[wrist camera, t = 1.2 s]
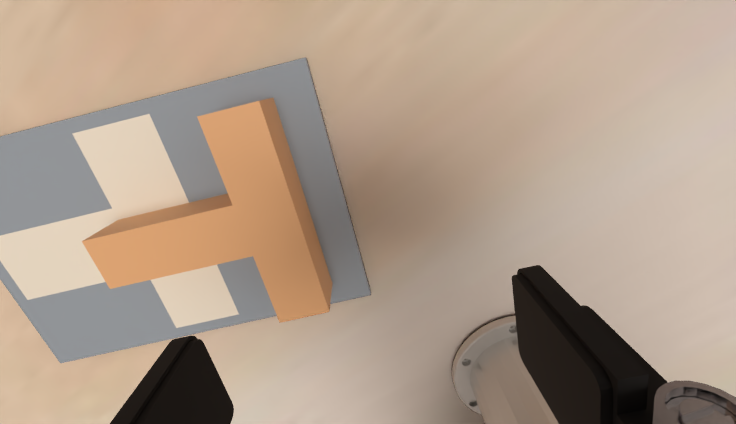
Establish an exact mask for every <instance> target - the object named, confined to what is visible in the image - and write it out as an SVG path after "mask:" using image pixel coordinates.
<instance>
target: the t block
mask: <svg viewBox="0 0 736 424" xmlns="http://www.w3.org/2000/svg"><path fill="white" fill-rule="evenodd" d="M197 118H198V120H199V123H200V125H201V128H202V130H203V133H204V135H205V138H206V140H207V143H208V145H209V148H210V150H211V153H212V155H213V158H214V160H215V163H216V165H217V168H218V170H219V173H220V175H221V178H222V180H223V183H224V185H225V188H226V190H227V194H223V195H219V196H215V197H211V198H206V199H202V200H198V201H194V202H190V203H186V204H181V205H177V206H173V207H169V208H165V209H161V210H157V211H152V212H148V213H144V214H140V215H136V216H132V217H128V218H123V219H119V220H117V221H115V222H114V223H112V224H110V225H109V226H107V227H105V228H103V229H102V230H100V231H98V232H97V233H95V234H93V235H92V236H90V237H88V238H87V239H85V240H83V241H82V243H83V244H84V246H85V248H86V249H87V251H88V253H89V255H90V256H91V258H92V260H93V261H94V263H95V265H96V266H97V268H98V270H99V271H100V273H101V275H102V277H103V278H104V280H105V282H106V283H107V285H108V287H109V288H110V289H113V288H117V287H121V286H126V285H130V284H134V283H139V282H143V281H147V280H152V279H156V278H160V277H165V276H169V275H174V274H178V273H182V272H187V271H191V270H195V269H200V268H204V267H208V266H213V265H217V264H221V263H226V262H230V261H234V260H239V259H243V258H247V257H252V256H253V257H254V260H255V262H256V265H257V267H258V270H259V272H260V275H261V277H262V280H263V282H264V285H265V287H266V290H267V292H268V295H269V297H270V300H271V302H272V305H273V307H274V310H275V312H276V315H277V317H278V320H279V322H285V321H290V320H294V319H299V318H303V317H308V316H313V315H317V314H322V313H326V312H329V310H330V302H331V293H332V284H333V283H332V280H331V277H330V274H329V271H328V268H327V264H326V261H325V258H324V255H323V252H322V249H321V246H320V243H319V239H318V236H317V233H316V230H315V227H314V224H313V221H312V217H311V214H310V211H309V208H308V205H307V202H306V199H305V195H304V192H303V189H302V186H301V183H300V180H299V177H298V173H297V170H296V167H295V164H294V161H293V158H292V155H291V151H290V148H289V145H288V142H287V139H286V136H285V133H284V129H283V126H282V123H281V120H280V117H279V114H278V111H277V107H276V104H275V101H274V98H269V99H265V100H260V101H256V102H252V103H248V104H244V105H240V106H236V107H232V108H229V109H225V110H221V111H217V112H213V113H209V114H205V115H201V116H197Z"/></svg>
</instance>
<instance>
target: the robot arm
mask: <svg viewBox="0 0 736 424" xmlns="http://www.w3.org/2000/svg"><path fill="white" fill-rule="evenodd" d="M512 285H513V296H514V307H515V316H509V317H504V318H501V319H498V320H495V321H493V322H491V323H489V324H487V325H485V326H483V327H481V328H480V329H478V330H477V331H476V332H474V333H473V334H472V335H471V336H470V337H469V338H468V339H467V340H466V341H465V342H464V343H463V344H462V346H461V347H460V349H459V350H458V352H457V354H456V356H455V359H454V361H453V367H452V379H453V382H454V386H455V389H456V392H457V394H458V396H459V398H460V399H461V400H462V402H463V403H464V404H465V405H466V406H467V407H468V408H470V409H471V410H472V411H474V412H476V413H478V414H480V415H482V417H483V419H484V422H485V424H736V397H734V396H732V395H730V394H728V393H726V392H724V391H723V390H721V389H718V388H715V387H712V386H709V385H707V384H703V383H698V382H693V381H673V382H669V383H668V382H667V381H666V380H665V379H664V378H663V377H662V376H661V375H659V374H658V373H657V372H656V371H655V370H654V369H653V368H652V367H651V366H650V365H649V364H648V363H647V362H646V361H645V360H644V359H643V358H642V357H641V356H640V355H639V354H638V353H637V352H636V351H635V350H634V349H633V348H632V347H631V346H630V345H628V344H627V343H626V342H625V341H624V340H623V339H622V338H621V337H620V336H619V335H618V334H617V333H616V332H615V331H614V330H613V329H612V328H611V327H610V326H609V325H608V324H607V323H606V322H605V321H604V320H603V319H602V318H601V317H600V316H598V315H597V314H596V313H595V312H594V311H593V310H592V309H591V308H589V307H588V306H585V305H584V306H580V305H579V304H578V303H577V302H576V301H575V300H574V299H573V298H572V297H571V296H570V295H569V294H568V293H567V292H566V291H565V290H564V289H563V288H562V287H561V286H560V285H559V284H558V283H557V282H556V281H555V280H554V279H553V278H552V277H551V276H550V275H549V274H548V273H547V272H546V271H545V270H544V269H543V268H542V267H541V266H540V265H537V266H532V267H527V268H522V269H519V270H518V272H517V275H513V276H512ZM233 412H234V408H233V404H232V401H231V399H230V397H229V395H228V393H227V391H226V389H225V387H224V385H223V383H222V380H221V378H220V376H219V374H218V372H217V370H216V368H215V366H214V364H213V362H212V360H211V357H210V355H209V353H208V351H207V349H206V347H205V345H204V343H203V341H202V340H200V339H197V338H196V337H195V336H188V337H183V338H178V339H174V340H172V341H171V342H170V343H169V344H168V346H167V347H166V348H165V350H164V351H163V352H162V354H161V355H160V357H159V358H158V359H157V361H156V362H155V363H154V365H153V366H152V367H151V369H150V370H149V371H148V373H147V374H146V375H145V377H144V378H143V379H142V381H141V382H140V384H139V385H138V386H137V388H136V389H135V390H134V392H133V393H132V394H131V396H130V397H129V398H128V400H127V401H126V402H125V404H124V405H123V407H122V408H121V409H120V411H119V412H118V413H117V415H116V416H115V417H114V419H113V420H112V421H111V423H110V424H230V423H231V420H232V417H233Z"/></svg>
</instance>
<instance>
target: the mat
mask: <svg viewBox="0 0 736 424" xmlns="http://www.w3.org/2000/svg"><path fill="white" fill-rule="evenodd" d="M269 98H274V101H275V104H276V107H277V111H278V114H279V117H280V120H281V123H282V126H283V129H284V133H285V136H286V139H287V142H288V145H289V148H290V151H291V155H292V158H293V161H294V164H295V167H296V170H297V173H298V177H299V180H300V183H301V186H302V189H303V192H304V195H305V199H306V202H307V205H308V208H309V211H310V214H311V217H312V221H313V224H314V227H315V230H316V233H317V236H318V239H319V243H320V246H321V249H322V252H323V255H324V258H325V261H326V264H327V268H328V271H329V274H330V277H331V280H332V283H333V284H332V293H331V302H330V304H332V303H337V302H341V301H346V300H350V299H355V298H359V297H364V296H369V295H371V291H370V287H369V284H368V280H367V277H366V273H365V269H364V266H363V262H362V258H361V255H360V251H359V247H358V244H357V240H356V237H355V233H354V229H353V226H352V222H351V218H350V215H349V211H348V207H347V204H346V200H345V197H344V193H343V189H342V186H341V182H340V178H339V175H338V171H337V167H336V164H335V160H334V157H333V153H332V149H331V146H330V142H329V138H328V135H327V131H326V127H325V124H324V120H323V117H322V113H321V109H320V106H319V102H318V98H317V95H316V91H315V87H314V84H313V80H312V77H311V73H310V69H309V66H308V62H307V58H302V59H298V60H294V61H290V62H286V63H282V64H279V65H275V66H271V67H267V68H263V69H259V70H255V71H252V72H248V73H244V74H240V75H236V76H232V77H228V78H225V79H221V80H217V81H213V82H209V83H205V84H201V85H198V86H194V87H190V88H186V89H182V90H178V91H174V92H171V93H167V94H163V95H159V96H155V97H151V98H147V99H143V100H140V101H136V102H132V103H128V104H124V105H120V106H116V107H113V108H109V109H105V110H101V111H97V112H93V113H89V114H86V115H82V116H78V117H74V118H70V119H66V120H62V121H59V122H55V123H51V124H47V125H43V126H39V127H35V128H32V129H28V130H24V131H20V132H16V133H12V134H8V135H5V136H1V137H0V280H1V281H2V282H3V284H4V285H5V287H6V288H7V289H8V291H9V292H10V293H11V295H12V296H13V298H14V299H15V300H16V302H17V303H18V305H19V306H20V307H21V309H22V310H23V312H24V313H25V314H26V316H27V317H28V319H29V320H30V321H31V323H32V324H33V326H34V327H35V328H36V330H37V331H38V333H39V334H40V335H41V337H42V338H43V340H44V341H45V342H46V344H47V345H48V347H49V348H50V349H51V351H52V352H53V354H54V355H55V356H56V358H57V359H58V361H59V362H60V363H64V362H68V361H73V360H77V359H82V358H87V357H91V356H96V355H100V354H105V353H109V352H114V351H118V350H123V349H128V348H132V347H137V346H141V345H146V344H150V343H155V342H159V341H164V340H168V339H173V338H178V337H182V336H187V335H191V334H196V333H200V332H205V331H209V330H214V329H218V328H223V327H228V326H232V325H237V324H241V323H246V322H250V321H255V320H259V319H264V318H269V317H273V316H277V315H276V312H275V310H274V307H273V305H272V302H271V300H270V297H269V295H268V292H267V290H266V287H265V285H264V282H263V280H262V277H261V275H260V272H259V270H258V267H257V265H256V262H255V260H254V257H253V256H252V257H247V258H243V259H239V260H234V261H230V262H226V263H221V264H217V265H213V266H208V267H204V268H200V269H195V270H191V271H187V272H182V273H178V274H174V275H169V276H165V277H160V278H156V279H152V280H147V281H143V282H139V283H134V284H130V285H126V286H121V287H117V288H113V289H110V288H109V287H108V285H107V283H106V282H105V280H104V278H103V277H102V275H101V273H100V271H99V270H98V268H97V266H96V265H95V263H94V261H93V260H92V258H91V256H90V255H89V253H88V251H87V249H86V248H85V246H84V244H83V243H82V241H83V240H85V239H87V238H88V237H90V236H92V235H93V234H95V233H97V232H98V231H100V230H102V229H103V228H105V227H107V226H109V225H110V224H112V223H114V222H115V221H117V220H119V219H123V218H128V217H132V216H136V215H140V214H144V213H148V212H152V211H157V210H161V209H165V208H169V207H173V206H177V205H181V204H186V203H190V202H194V201H198V200H202V199H206V198H211V197H215V196H219V195H223V194H227V190H226V188H225V185H224V183H223V180H222V178H221V175H220V173H219V170H218V168H217V165H216V163H215V160H214V158H213V155H212V153H211V150H210V148H209V145H208V143H207V140H206V138H205V135H204V133H203V130H202V128H201V125H200V123H199V120H198V118H197V116H201V115H205V114H209V113H213V112H217V111H221V110H225V109H229V108H232V107H236V106H240V105H244V104H248V103H252V102H256V101H260V100H265V99H269Z"/></svg>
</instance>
